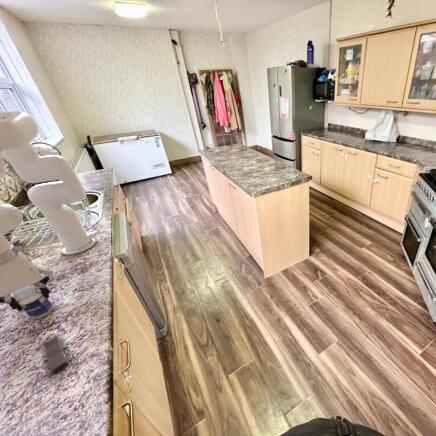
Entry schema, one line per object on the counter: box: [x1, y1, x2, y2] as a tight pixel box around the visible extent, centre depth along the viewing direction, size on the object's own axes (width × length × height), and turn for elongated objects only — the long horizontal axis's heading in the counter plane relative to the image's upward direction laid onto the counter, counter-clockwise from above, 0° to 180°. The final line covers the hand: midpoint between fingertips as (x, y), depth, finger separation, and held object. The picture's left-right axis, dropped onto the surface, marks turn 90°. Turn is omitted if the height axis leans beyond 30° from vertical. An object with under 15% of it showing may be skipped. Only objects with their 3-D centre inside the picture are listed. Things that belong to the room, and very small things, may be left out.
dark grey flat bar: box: [43, 335, 69, 374], centre depth 63 cm, size 12×3×1 cm, turn 51°
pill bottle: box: [13, 285, 54, 320], centre depth 75 cm, size 6×6×10 cm
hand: (34, 301), depth 75 cm, fingers closed on pill bottle, 5 cm apart
